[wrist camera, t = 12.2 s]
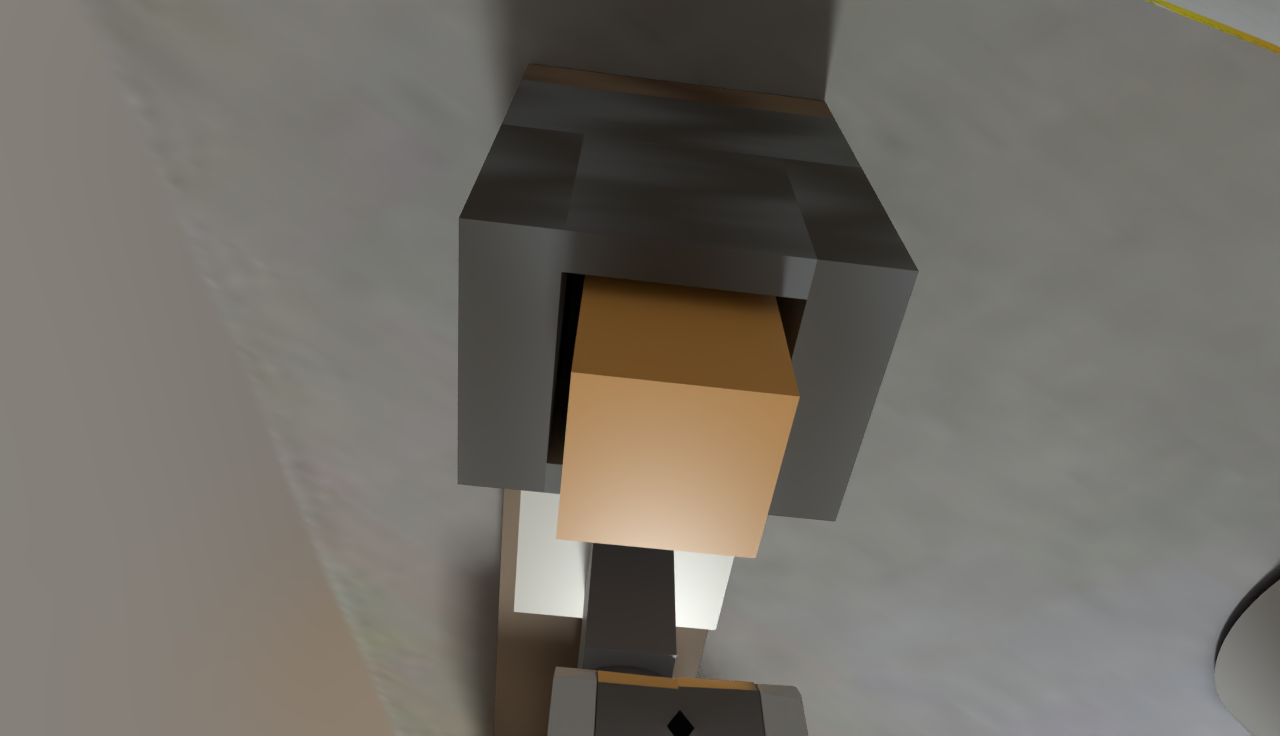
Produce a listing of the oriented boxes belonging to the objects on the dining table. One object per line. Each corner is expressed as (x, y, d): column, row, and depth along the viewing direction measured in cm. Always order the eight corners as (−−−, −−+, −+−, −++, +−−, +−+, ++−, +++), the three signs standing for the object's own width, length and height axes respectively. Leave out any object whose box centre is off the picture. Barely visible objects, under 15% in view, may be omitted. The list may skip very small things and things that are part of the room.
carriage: (739, 379, 26) (781, 665, 18) (707, 523, 30) (729, 822, 21) (542, 358, 26) (486, 638, 17) (531, 506, 29) (480, 803, 21)
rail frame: (824, 101, 24) (918, 271, 15) (654, 819, 43) (654, 1063, 35) (529, 64, 23) (459, 218, 15) (493, 806, 43) (454, 1051, 35)
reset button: (765, 254, 18) (799, 396, 14) (734, 396, 20) (755, 558, 16) (590, 234, 18) (571, 371, 13) (576, 379, 20) (556, 539, 15)
